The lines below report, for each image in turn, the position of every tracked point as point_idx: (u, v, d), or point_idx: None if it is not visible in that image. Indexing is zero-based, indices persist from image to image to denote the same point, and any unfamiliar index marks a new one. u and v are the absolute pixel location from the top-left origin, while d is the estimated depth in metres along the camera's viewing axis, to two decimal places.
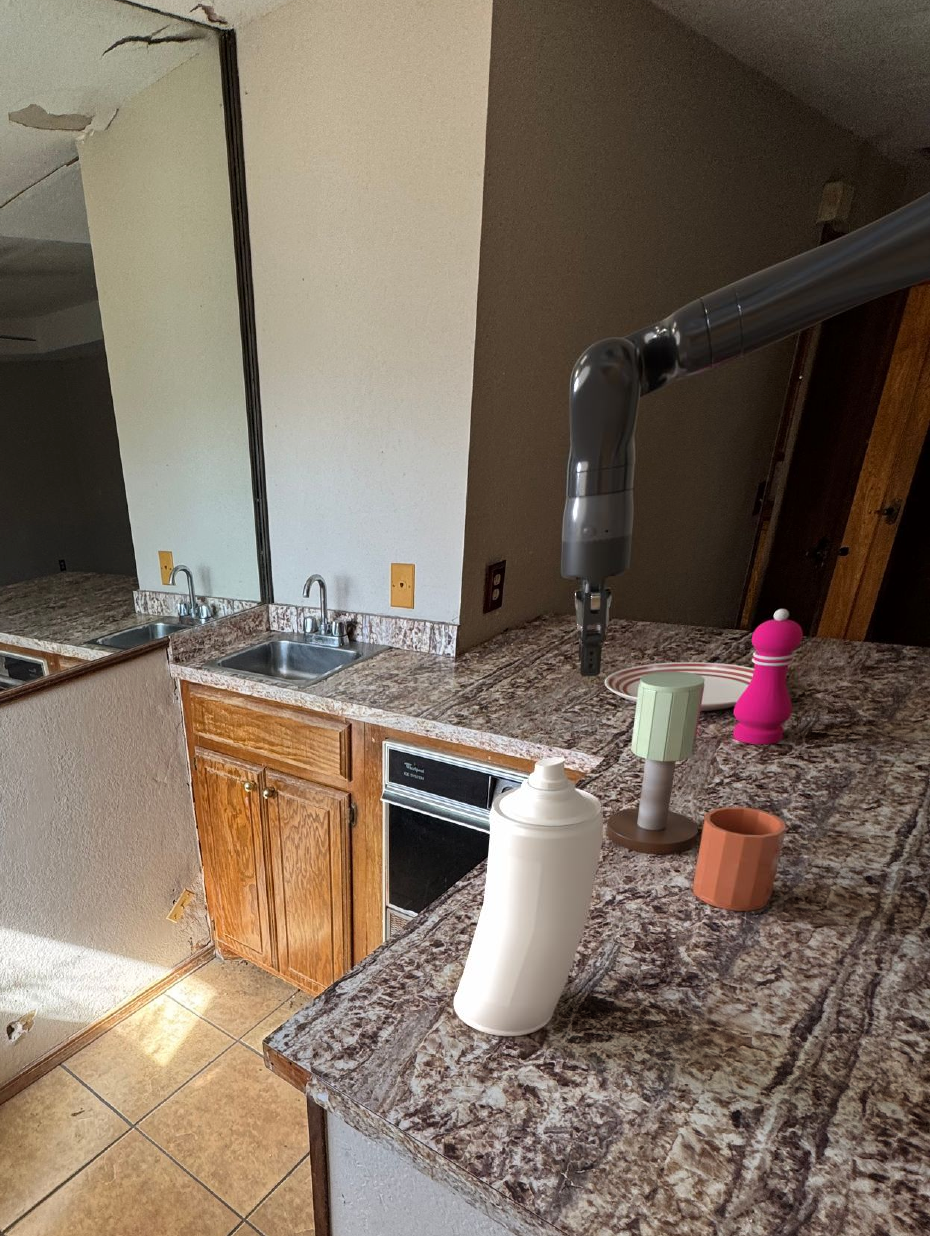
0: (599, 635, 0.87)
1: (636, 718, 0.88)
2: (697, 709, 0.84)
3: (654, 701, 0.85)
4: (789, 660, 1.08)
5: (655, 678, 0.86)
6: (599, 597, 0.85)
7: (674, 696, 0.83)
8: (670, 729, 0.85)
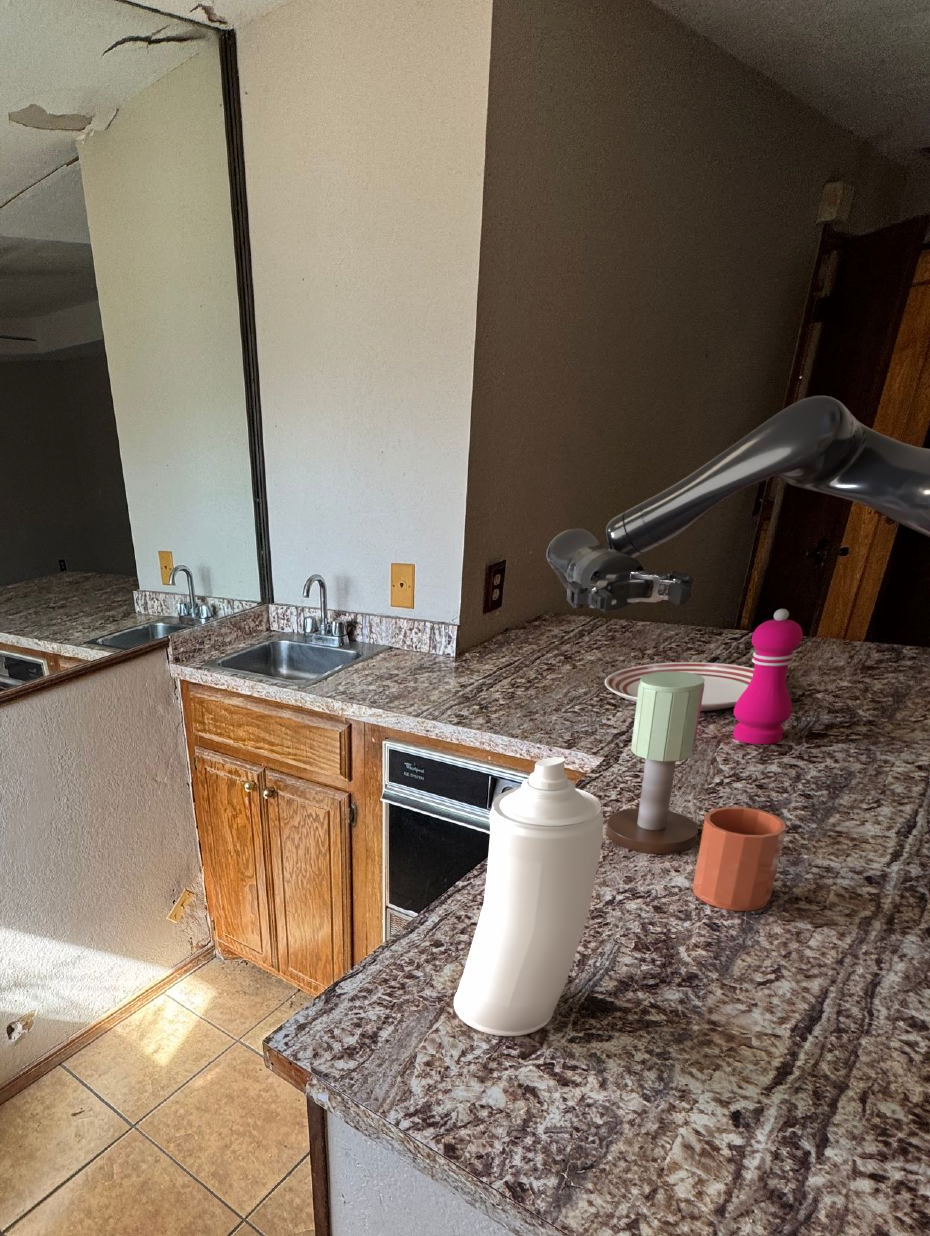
0: None
1: (636, 718, 0.88)
2: (697, 709, 0.84)
3: (654, 701, 0.85)
4: (789, 660, 1.08)
5: (655, 678, 0.86)
6: (567, 588, 1.02)
7: (674, 696, 0.83)
8: (670, 729, 0.85)
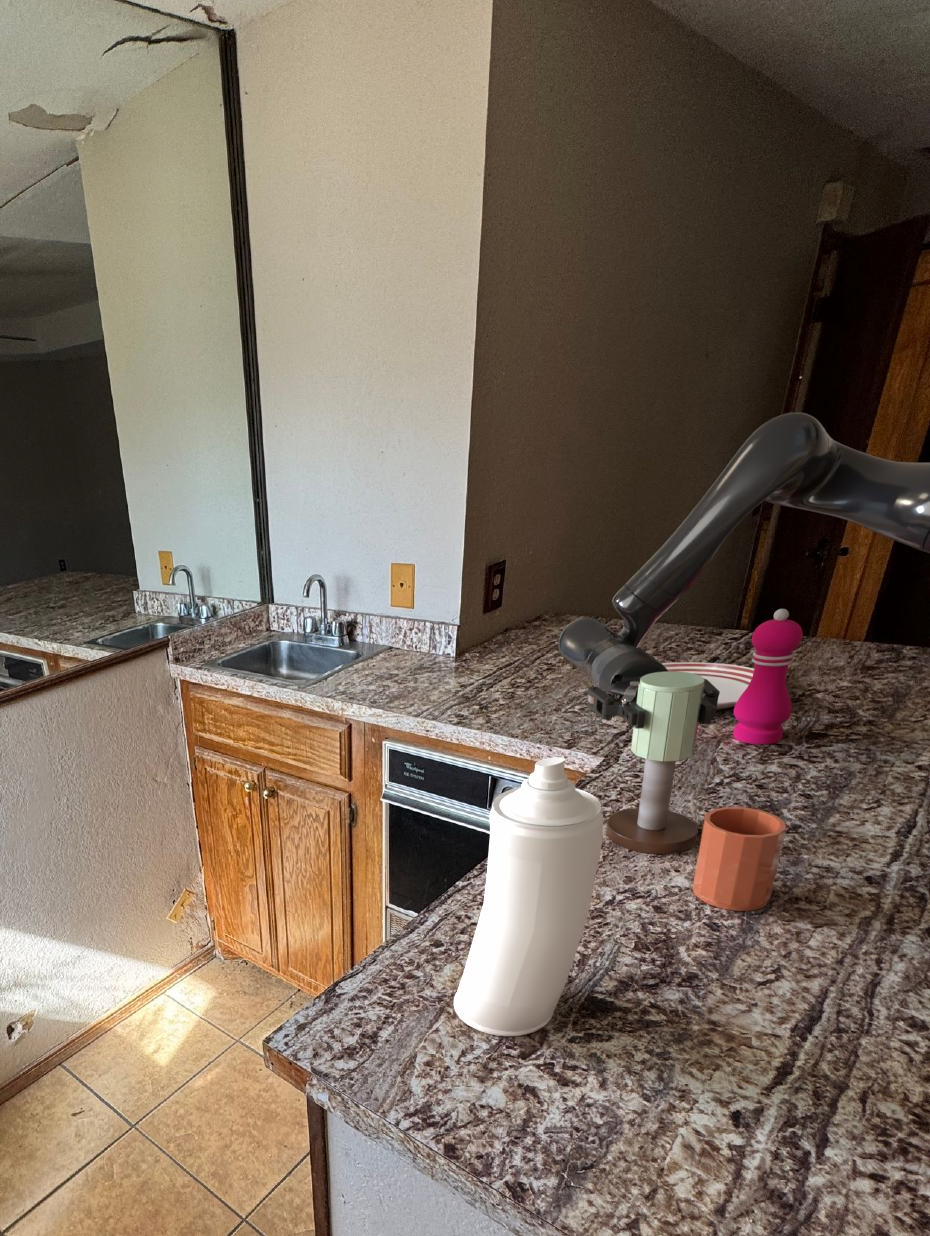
0: None
1: None
2: (697, 709, 0.84)
3: (654, 701, 0.85)
4: (789, 660, 1.08)
5: (655, 678, 0.86)
6: (588, 694, 0.95)
7: (674, 696, 0.83)
8: (670, 729, 0.85)
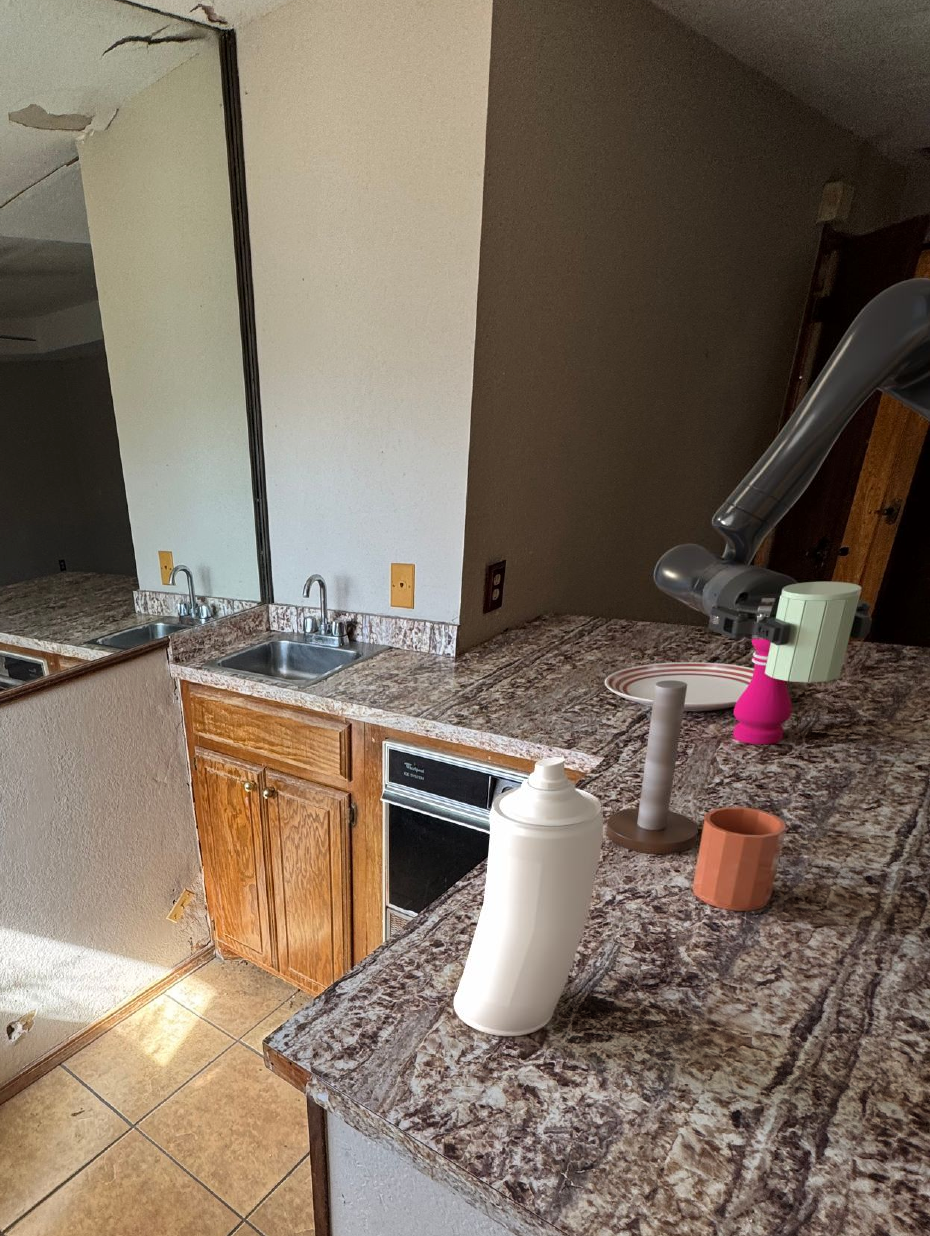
0: None
1: None
2: (852, 621, 0.74)
3: (802, 612, 0.75)
4: None
5: (800, 588, 0.77)
6: (711, 615, 0.85)
7: (827, 604, 0.73)
8: (819, 644, 0.75)
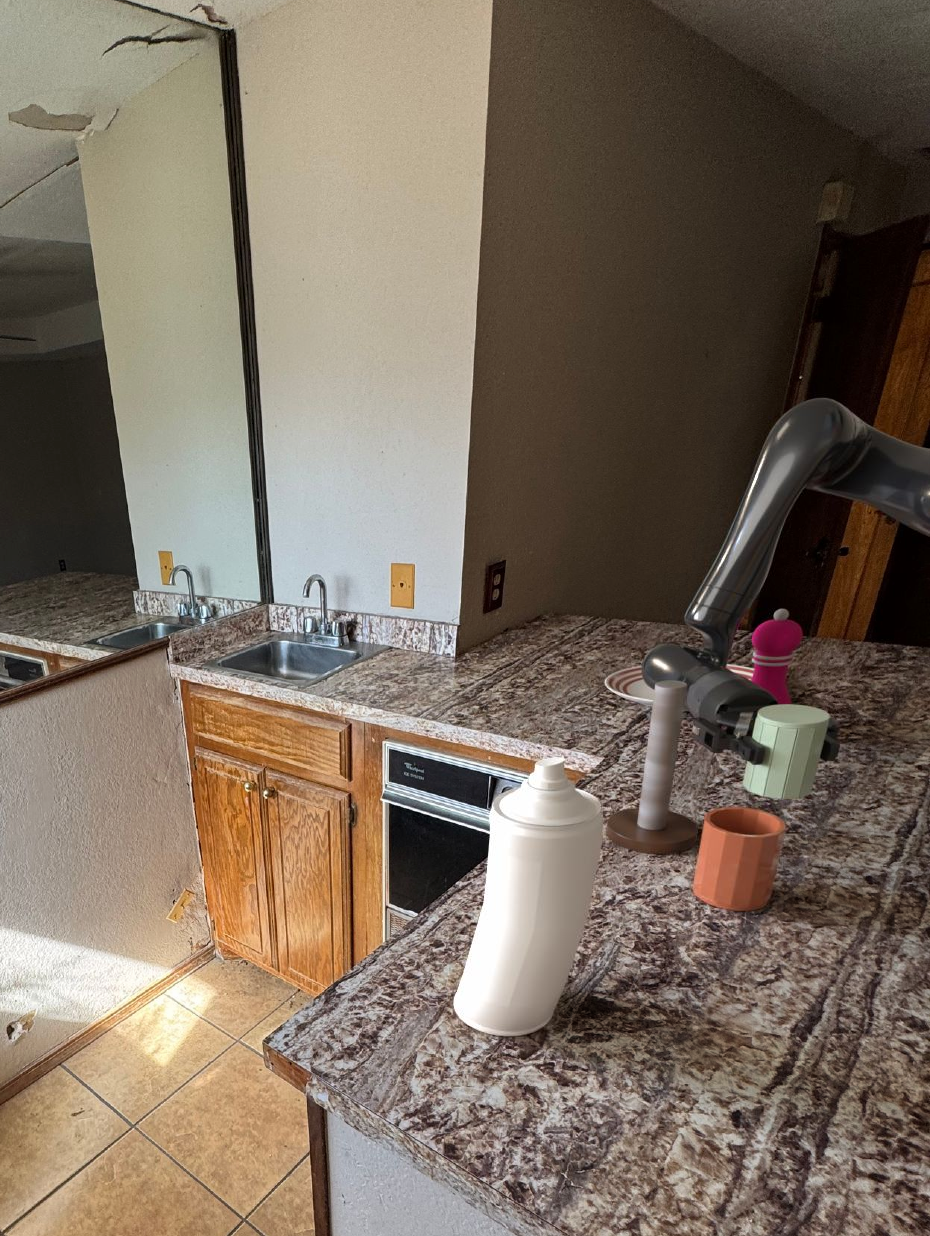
0: None
1: None
2: (821, 746, 0.80)
3: (775, 737, 0.81)
4: (789, 660, 1.08)
5: (774, 712, 0.83)
6: (693, 725, 0.91)
7: (798, 732, 0.79)
8: (791, 766, 0.81)
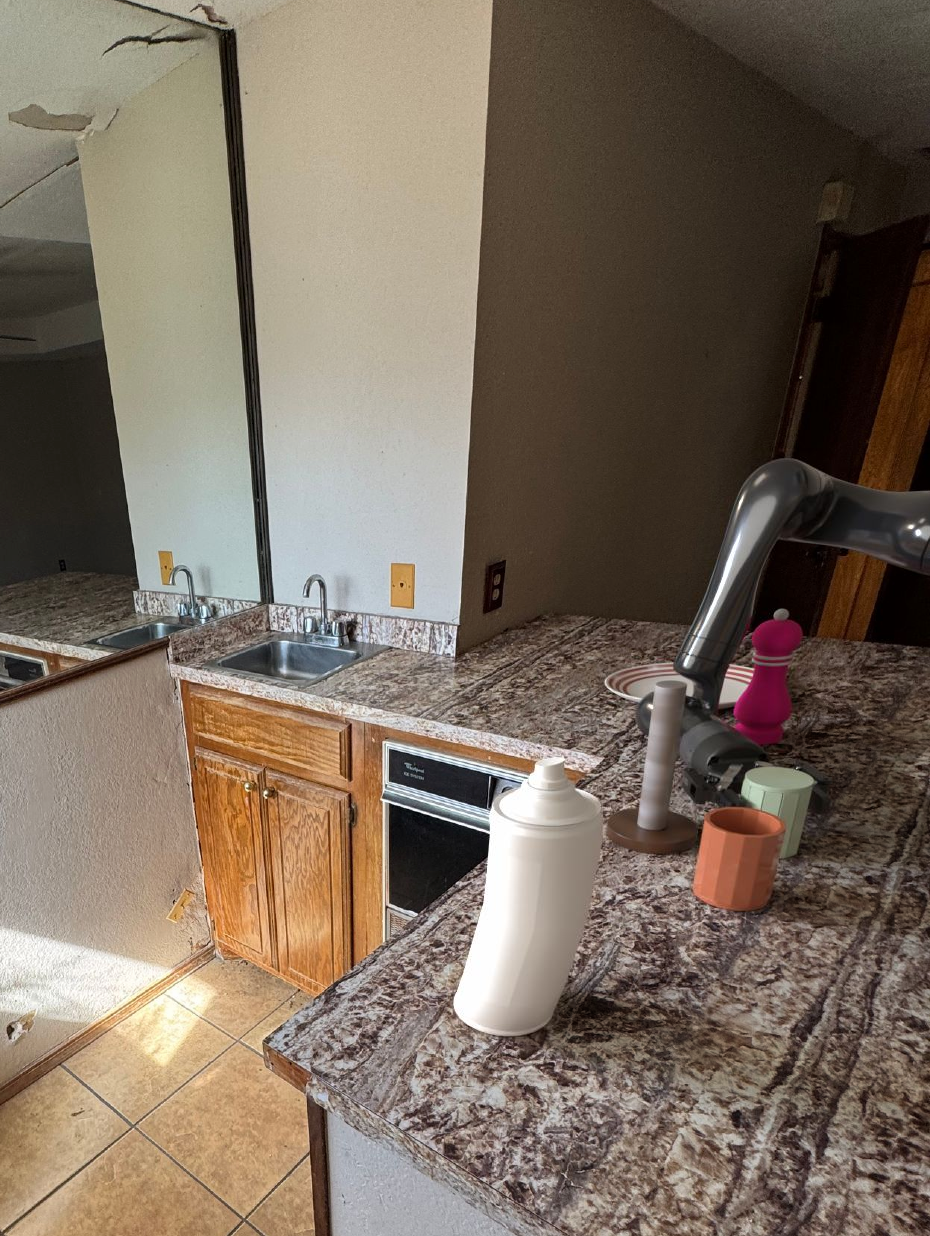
0: None
1: None
2: (806, 809, 0.84)
3: (762, 800, 0.84)
4: (789, 660, 1.08)
5: (761, 775, 0.86)
6: (683, 775, 0.95)
7: (784, 797, 0.83)
8: None
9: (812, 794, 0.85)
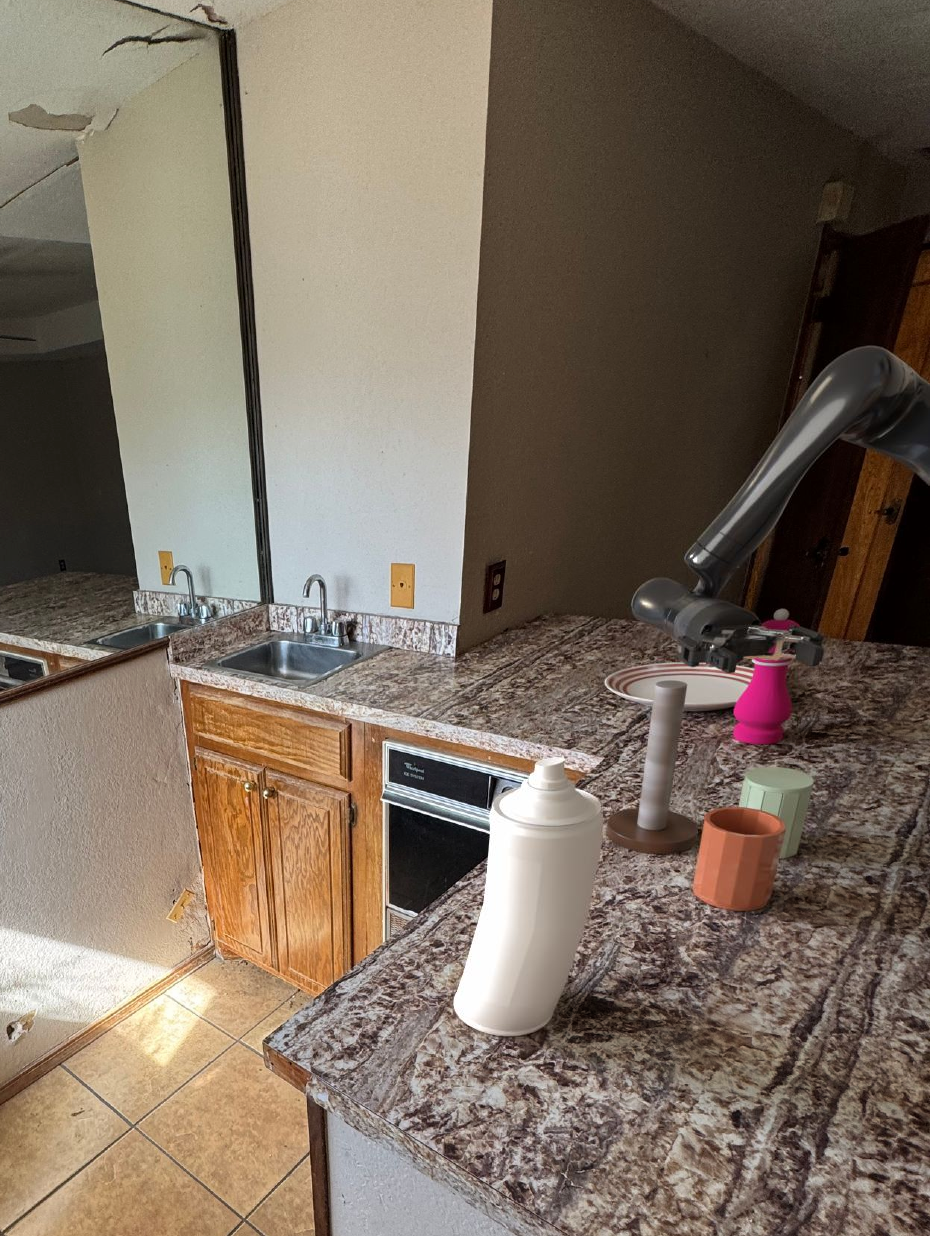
0: (690, 650, 0.91)
1: None
2: (806, 809, 0.84)
3: (762, 800, 0.84)
4: (789, 660, 1.08)
5: (761, 775, 0.86)
6: (677, 644, 0.95)
7: (784, 797, 0.83)
8: None
9: (805, 647, 0.86)
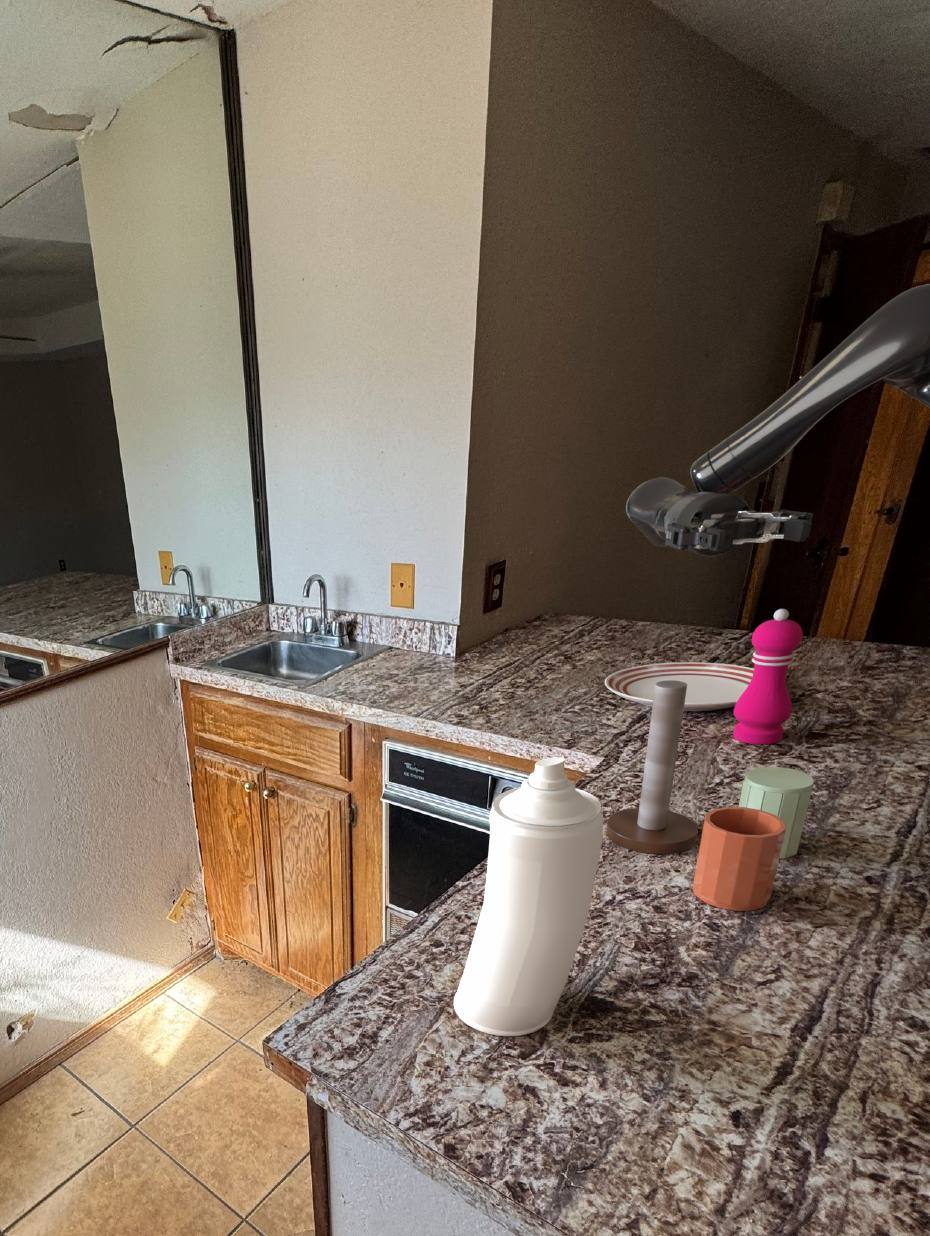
0: None
1: None
2: (806, 809, 0.84)
3: (762, 800, 0.84)
4: (789, 660, 1.08)
5: (761, 775, 0.86)
6: (667, 531, 0.95)
7: (784, 797, 0.83)
8: None
9: (793, 524, 0.86)
